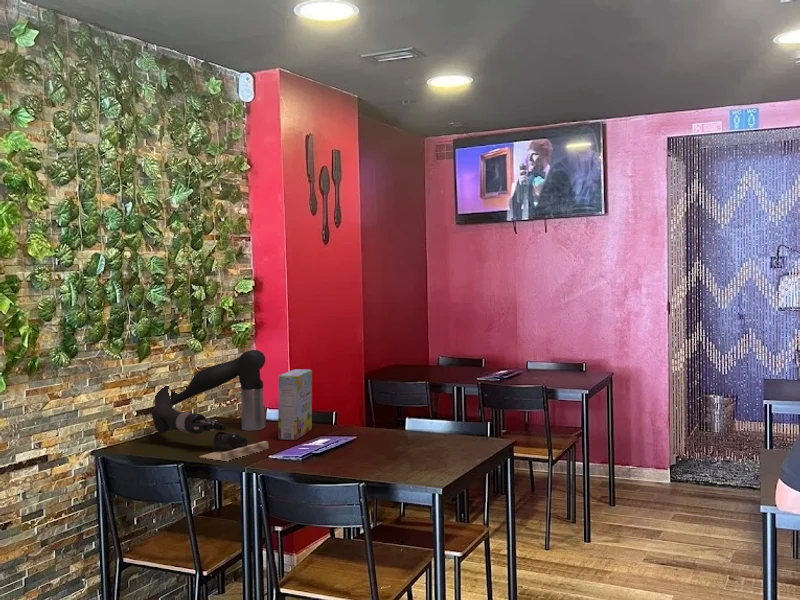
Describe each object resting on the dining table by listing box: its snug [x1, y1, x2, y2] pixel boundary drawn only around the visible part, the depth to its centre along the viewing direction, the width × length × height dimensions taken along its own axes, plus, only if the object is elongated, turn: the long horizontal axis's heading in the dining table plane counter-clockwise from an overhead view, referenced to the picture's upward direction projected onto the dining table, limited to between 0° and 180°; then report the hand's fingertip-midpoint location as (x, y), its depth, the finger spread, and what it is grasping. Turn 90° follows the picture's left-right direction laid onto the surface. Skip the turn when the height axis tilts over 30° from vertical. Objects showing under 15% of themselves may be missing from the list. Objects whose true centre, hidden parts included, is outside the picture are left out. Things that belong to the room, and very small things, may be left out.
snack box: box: [277, 368, 313, 441], centre depth 314 cm, size 22×9×26 cm, turn 171°
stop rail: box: [220, 440, 270, 462], centre depth 281 cm, size 22×2×3 cm, turn 147°
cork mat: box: [198, 444, 249, 461], centre depth 284 cm, size 22×11×1 cm, turn 147°
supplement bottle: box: [212, 430, 248, 451], centre depth 285 cm, size 7×7×12 cm
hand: (223, 427), depth 286 cm, fingers closed
